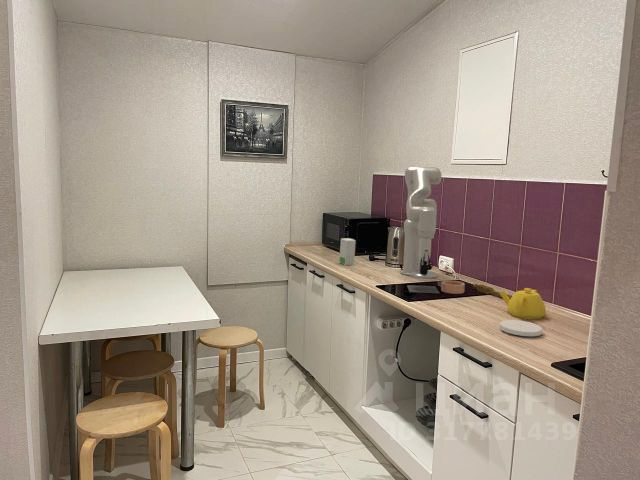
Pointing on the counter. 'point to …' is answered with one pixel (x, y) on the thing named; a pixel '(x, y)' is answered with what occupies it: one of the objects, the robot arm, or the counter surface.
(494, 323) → the counter surface
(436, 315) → the counter surface
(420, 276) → the lid
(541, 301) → the teapot
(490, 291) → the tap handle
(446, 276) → the counter surface
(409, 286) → the mat
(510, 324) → the plastic lid
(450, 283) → the bowl
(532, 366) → the counter surface
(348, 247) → the white cylinder
